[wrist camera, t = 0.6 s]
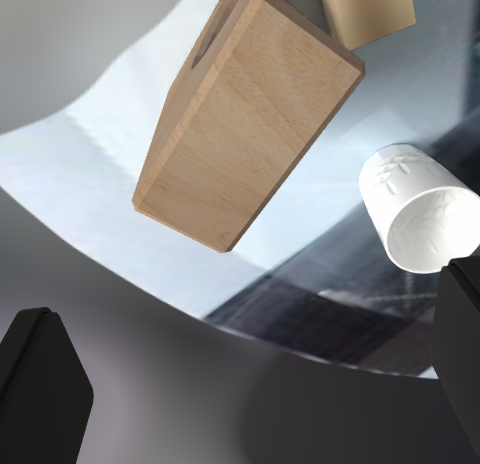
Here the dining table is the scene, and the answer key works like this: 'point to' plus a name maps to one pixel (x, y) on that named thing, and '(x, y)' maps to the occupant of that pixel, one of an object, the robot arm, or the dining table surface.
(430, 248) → the white cup
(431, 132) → the dining table surface
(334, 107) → the decorative block
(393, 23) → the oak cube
